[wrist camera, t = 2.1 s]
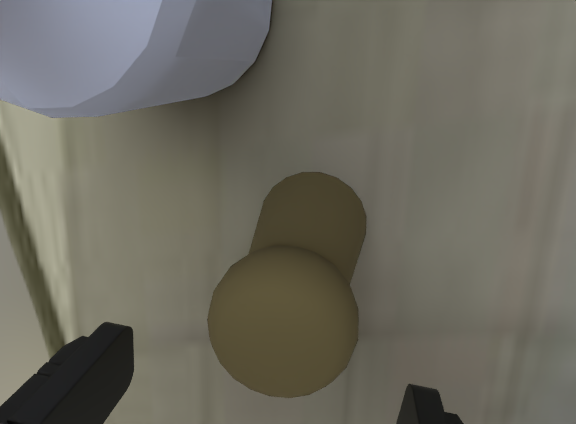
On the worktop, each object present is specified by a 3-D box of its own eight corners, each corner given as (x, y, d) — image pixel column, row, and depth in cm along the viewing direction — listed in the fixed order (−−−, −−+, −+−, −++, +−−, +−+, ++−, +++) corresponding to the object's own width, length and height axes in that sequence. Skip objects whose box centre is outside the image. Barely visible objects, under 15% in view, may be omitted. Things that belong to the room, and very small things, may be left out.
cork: (264, 164, 22) (181, 247, 12) (376, 180, 21) (392, 286, 11) (255, 261, 24) (178, 406, 14) (356, 280, 23) (354, 446, 13)
